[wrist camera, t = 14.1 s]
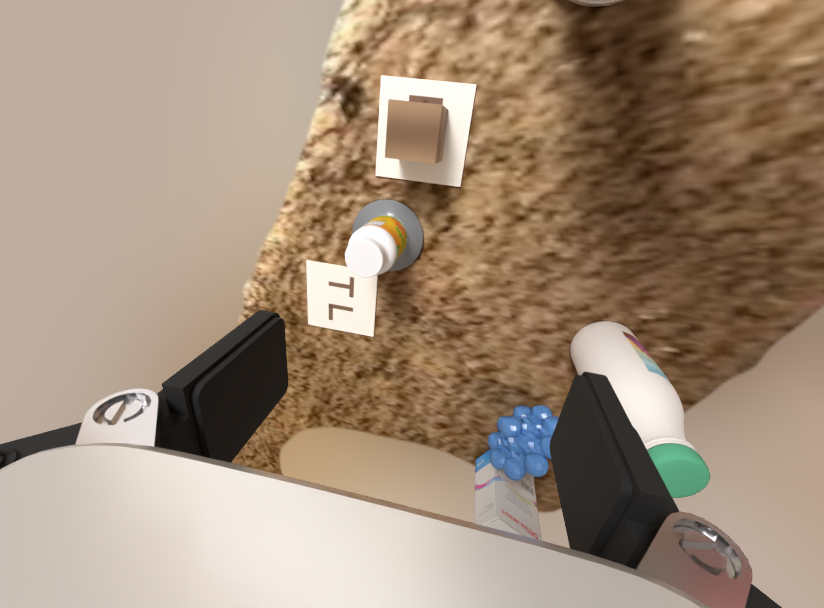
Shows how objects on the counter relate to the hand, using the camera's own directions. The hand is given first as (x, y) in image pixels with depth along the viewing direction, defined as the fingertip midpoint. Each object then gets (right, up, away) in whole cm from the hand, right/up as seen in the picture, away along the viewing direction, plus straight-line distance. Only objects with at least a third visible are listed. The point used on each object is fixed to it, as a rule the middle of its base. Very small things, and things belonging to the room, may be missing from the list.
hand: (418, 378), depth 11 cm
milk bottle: (+24, -3, +34) cm, 42 cm away
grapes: (+15, -12, +40) cm, 45 cm away
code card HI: (+1, +21, +27) cm, 35 cm away
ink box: (+15, -24, +46) cm, 54 cm away
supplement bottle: (-3, +11, +33) cm, 35 cm away
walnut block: (+1, +21, +27) cm, 34 cm away
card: (-10, +3, +38) cm, 39 cm away
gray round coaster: (-3, +11, +33) cm, 35 cm away
